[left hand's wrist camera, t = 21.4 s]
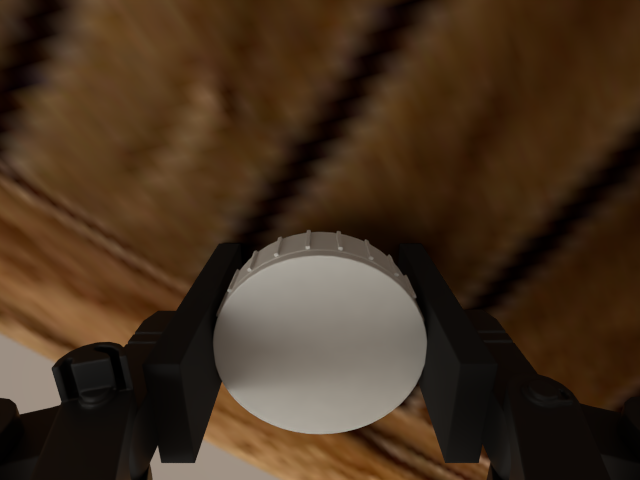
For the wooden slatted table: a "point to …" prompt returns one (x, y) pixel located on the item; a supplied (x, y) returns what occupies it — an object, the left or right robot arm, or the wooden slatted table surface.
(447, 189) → the wooden slatted table surface
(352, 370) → the lid
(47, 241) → the wooden slatted table surface
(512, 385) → the left robot arm
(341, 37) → the wooden slatted table surface
